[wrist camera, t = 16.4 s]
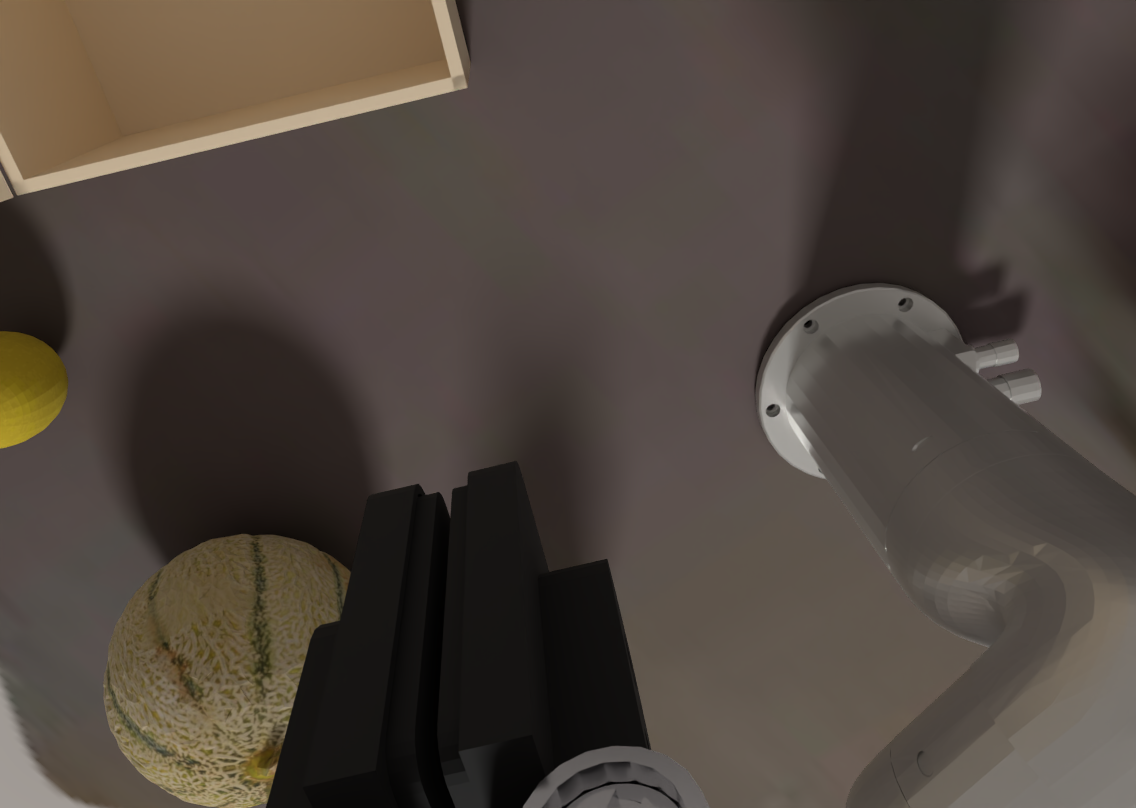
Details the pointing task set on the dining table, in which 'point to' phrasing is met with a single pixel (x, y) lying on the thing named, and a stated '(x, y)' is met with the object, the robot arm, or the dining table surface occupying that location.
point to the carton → (203, 75)
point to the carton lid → (4, 189)
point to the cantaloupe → (218, 664)
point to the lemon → (28, 387)
